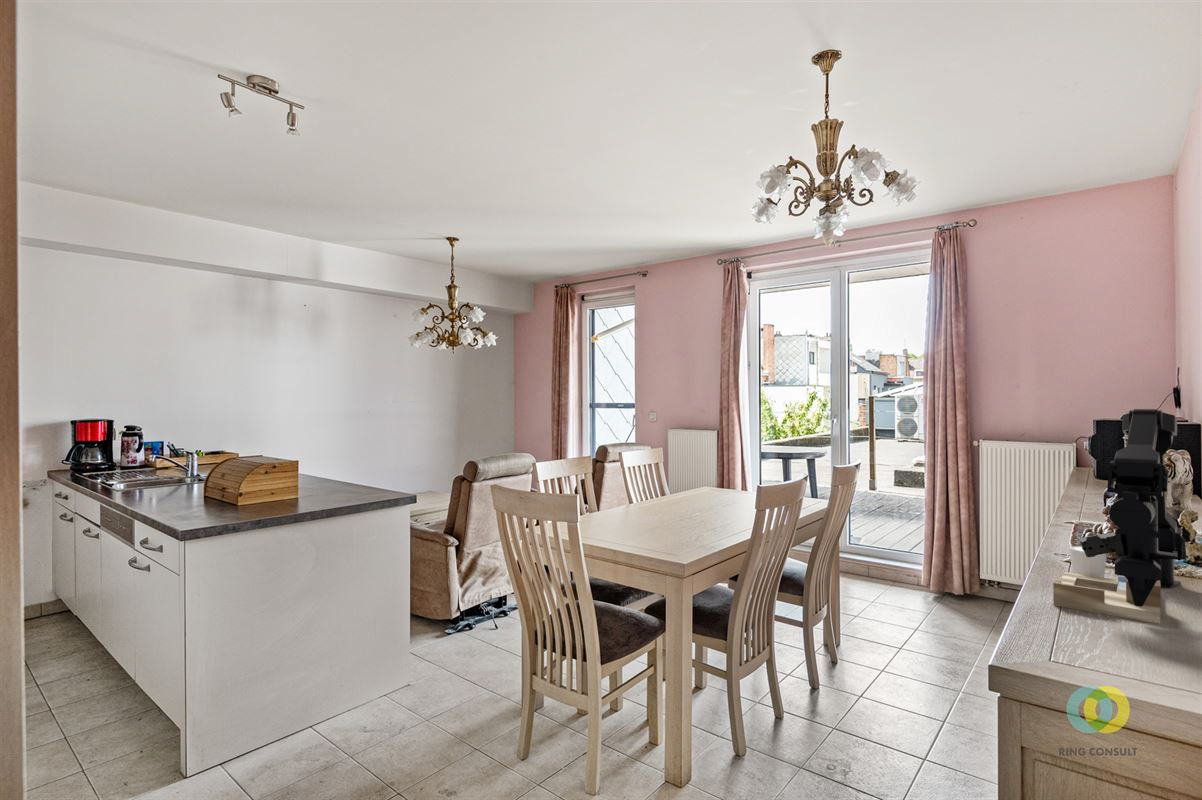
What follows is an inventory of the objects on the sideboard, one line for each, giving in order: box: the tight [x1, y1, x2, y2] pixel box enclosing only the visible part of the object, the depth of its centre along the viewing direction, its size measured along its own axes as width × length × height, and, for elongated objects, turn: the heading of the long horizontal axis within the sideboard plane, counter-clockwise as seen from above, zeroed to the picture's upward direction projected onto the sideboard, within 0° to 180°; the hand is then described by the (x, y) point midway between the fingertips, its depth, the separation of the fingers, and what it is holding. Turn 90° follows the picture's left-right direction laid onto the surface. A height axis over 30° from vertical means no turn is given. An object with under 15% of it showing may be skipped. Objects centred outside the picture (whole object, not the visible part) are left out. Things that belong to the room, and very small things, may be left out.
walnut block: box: [1126, 578, 1162, 608], centre depth 120 cm, size 5×5×4 cm
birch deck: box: [1052, 571, 1161, 625], centre depth 127 cm, size 22×16×4 cm
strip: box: [1117, 575, 1126, 589], centre depth 129 cm, size 8×6×3 cm
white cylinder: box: [1069, 545, 1108, 578], centre depth 141 cm, size 7×7×7 cm
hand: (1138, 605), depth 114 cm, fingers closed
